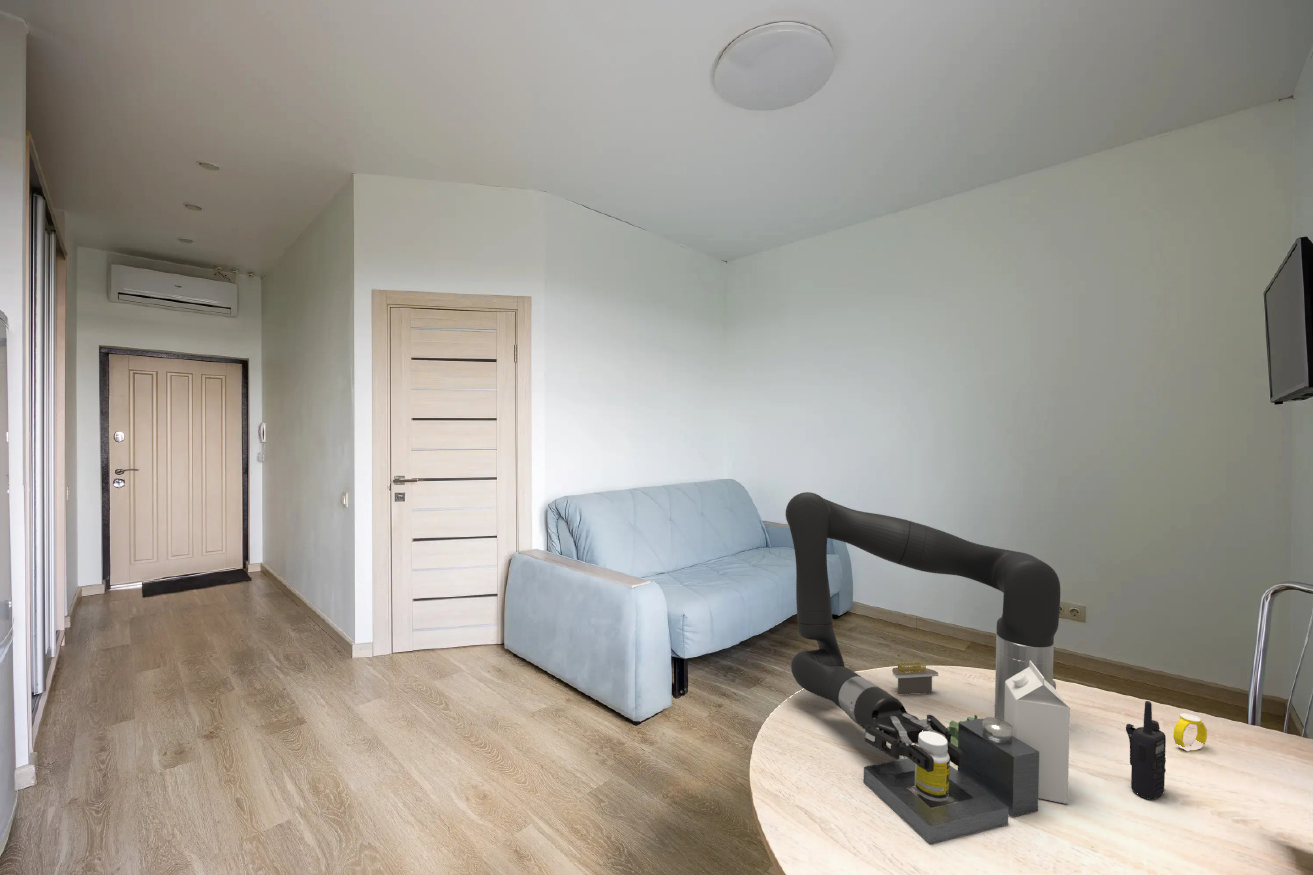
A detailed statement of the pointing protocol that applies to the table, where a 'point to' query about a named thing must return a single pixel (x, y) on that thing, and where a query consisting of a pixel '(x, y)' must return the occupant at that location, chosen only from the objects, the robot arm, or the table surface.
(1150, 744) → the two-way radio
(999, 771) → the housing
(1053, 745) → the milk carton
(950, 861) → the table surface
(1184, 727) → the watch
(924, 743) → the supplement bottle
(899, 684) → the platform
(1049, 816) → the table surface
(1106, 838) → the table surface
